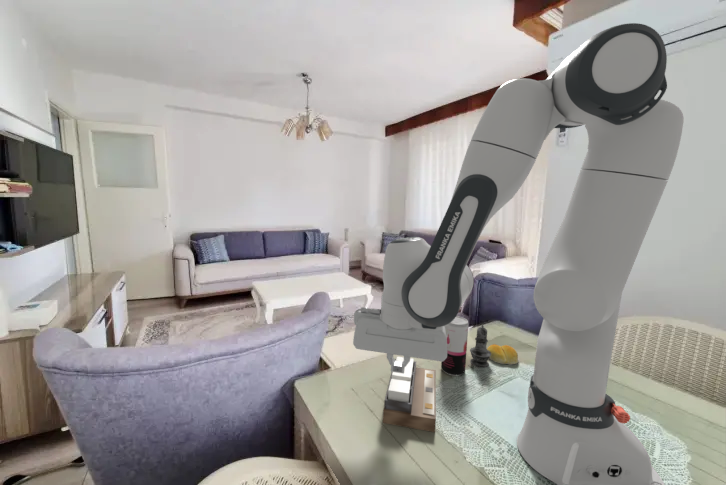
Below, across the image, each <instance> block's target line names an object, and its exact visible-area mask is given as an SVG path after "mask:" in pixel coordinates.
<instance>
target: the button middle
mask: <svg viewBox="0 0 726 485" xmlns="http://www.w3.org/2000/svg"><path fill="white" fill-rule="evenodd" d="M392 379H396V380H403V381H410V386H411V380H412V367H405V371H404V374H403V373H396V372H393V373H392Z"/></svg>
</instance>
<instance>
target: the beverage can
mask: <svg viewBox="0 0 726 485" xmlns="http://www.w3.org/2000/svg"><path fill="white" fill-rule="evenodd" d="M444 327H445V330H446V337H447V358H446V359H445V360H444V361H443V362H441V361H440V362H441V363H440V368H441V370H442V371H443V372H444V373H445V374H447V375H449V376H454V377H457V376H458V377H460V376H462V375H463V374H465V372H466V364H467V351H468V350H467V348H468V336H469V320H468V319H467V318H464V317H462V316H459V315H457V316H456V317H455V319H454V320H453V321H452V322H450V323H449V324H447V325H445V326H444Z"/></svg>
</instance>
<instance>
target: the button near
mask: <svg viewBox="0 0 726 485" xmlns="http://www.w3.org/2000/svg"><path fill="white" fill-rule="evenodd" d="M409 396H410V381H403V380H396V379H391V382H390V386H389V390H388V400H394V401H400V402H406V403H409Z"/></svg>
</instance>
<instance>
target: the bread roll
mask: <svg viewBox="0 0 726 485" xmlns="http://www.w3.org/2000/svg"><path fill="white" fill-rule="evenodd" d="M486 348H487V350H489V351H490V352H491V356H490V358H489V359H488V360H491V361H492V362H494V363H497V364H502V365H505V364H507V365H509V366H511V365H516V364H517V363H518V362H519V355H518V352H517V351H516V349H515V348H514V347H513V346H511V345H508V344H504V345H503V344H502V345H498V344H490V345H489V346H488V347H486Z"/></svg>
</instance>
